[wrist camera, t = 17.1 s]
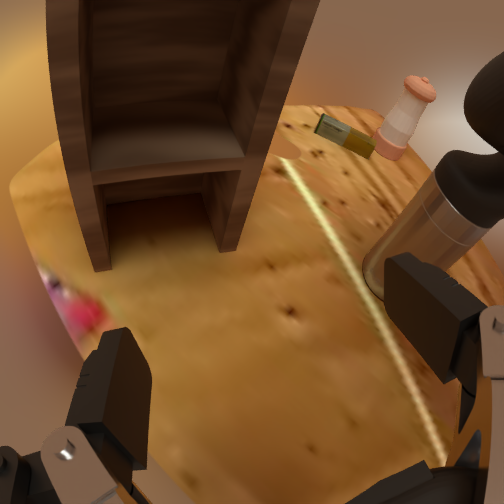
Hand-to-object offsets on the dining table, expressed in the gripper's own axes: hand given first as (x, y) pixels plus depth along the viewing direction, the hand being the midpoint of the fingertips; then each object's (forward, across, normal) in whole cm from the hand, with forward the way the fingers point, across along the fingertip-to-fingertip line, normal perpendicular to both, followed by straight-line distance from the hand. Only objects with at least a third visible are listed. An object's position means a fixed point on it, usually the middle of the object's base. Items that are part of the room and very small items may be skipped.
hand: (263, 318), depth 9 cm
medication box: (+52, -26, +5) cm, 58 cm away
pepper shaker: (+54, -36, +8) cm, 66 cm away
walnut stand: (+32, +8, +5) cm, 33 cm away
